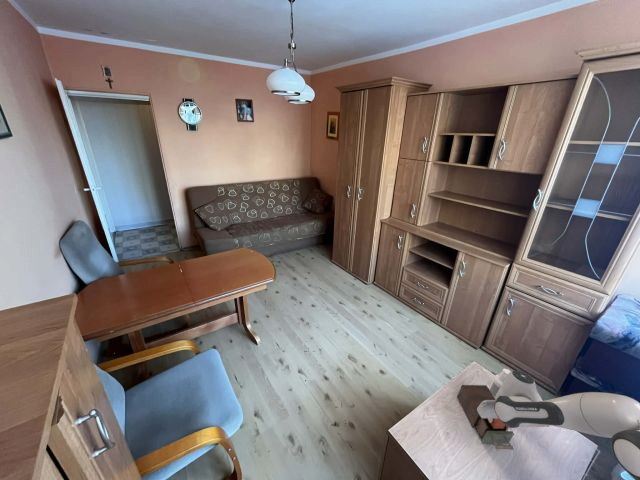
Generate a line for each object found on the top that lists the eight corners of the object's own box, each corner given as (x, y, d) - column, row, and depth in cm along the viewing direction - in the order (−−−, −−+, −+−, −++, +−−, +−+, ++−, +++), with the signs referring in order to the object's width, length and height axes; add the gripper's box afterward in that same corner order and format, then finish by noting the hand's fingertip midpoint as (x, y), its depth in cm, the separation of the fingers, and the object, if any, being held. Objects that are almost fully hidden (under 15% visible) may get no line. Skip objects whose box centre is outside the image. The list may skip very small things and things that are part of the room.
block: (503, 428, 114) (507, 422, 112) (493, 428, 114) (497, 422, 112) (497, 418, 118) (500, 412, 116) (487, 417, 118) (490, 412, 116)
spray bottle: (490, 399, 135) (503, 376, 127) (485, 387, 141) (496, 364, 134) (504, 402, 134) (518, 378, 127) (498, 389, 141) (511, 366, 133)
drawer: (514, 455, 112) (521, 445, 109) (488, 455, 112) (494, 445, 108) (489, 412, 128) (495, 402, 125) (466, 412, 128) (471, 402, 124)
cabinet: (498, 427, 123) (505, 415, 119) (471, 427, 123) (478, 415, 118) (480, 397, 136) (486, 385, 132) (456, 396, 136) (462, 384, 131)
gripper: (488, 408, 106) (477, 428, 112) (537, 409, 107) (524, 429, 113) (479, 393, 112) (469, 413, 118) (526, 394, 113) (514, 413, 119)
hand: (496, 421), depth 115 cm, fingers closed on block, 4 cm apart
